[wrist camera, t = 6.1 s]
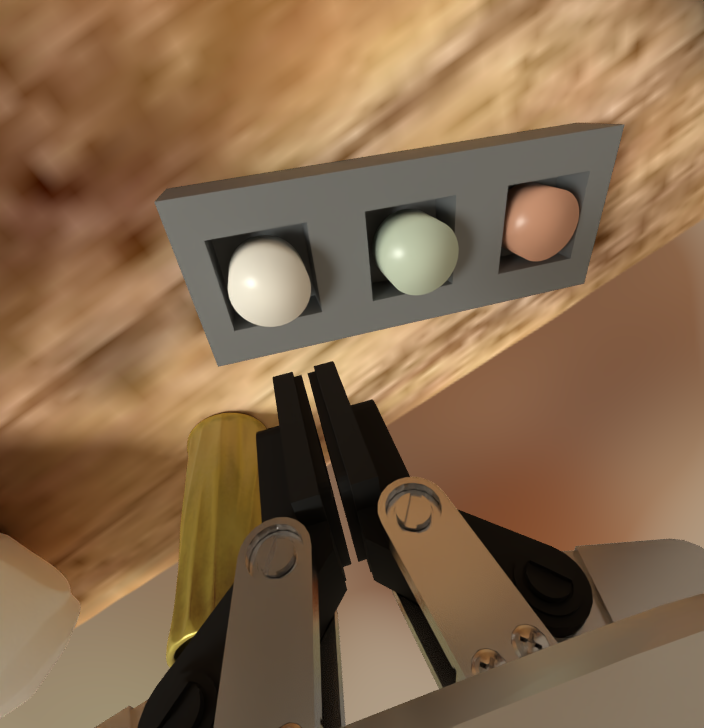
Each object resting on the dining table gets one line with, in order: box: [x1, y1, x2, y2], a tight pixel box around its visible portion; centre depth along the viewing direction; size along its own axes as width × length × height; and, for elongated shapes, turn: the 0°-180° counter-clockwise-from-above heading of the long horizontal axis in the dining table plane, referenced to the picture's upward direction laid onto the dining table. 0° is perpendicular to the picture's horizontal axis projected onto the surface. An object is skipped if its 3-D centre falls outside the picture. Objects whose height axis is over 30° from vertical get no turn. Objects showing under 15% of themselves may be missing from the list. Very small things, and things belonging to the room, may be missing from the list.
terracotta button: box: [501, 182, 579, 261], centre depth 23 cm, size 4×4×3 cm
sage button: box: [372, 208, 459, 295], centre depth 21 cm, size 4×4×3 cm
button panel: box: [155, 123, 624, 367], centre depth 22 cm, size 9×24×4 cm, turn 97°
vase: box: [166, 413, 267, 668], centre depth 24 cm, size 6×6×14 cm
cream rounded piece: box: [228, 235, 311, 327], centre depth 20 cm, size 4×4×3 cm
